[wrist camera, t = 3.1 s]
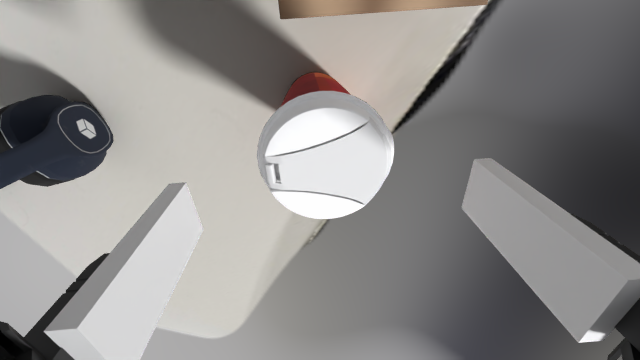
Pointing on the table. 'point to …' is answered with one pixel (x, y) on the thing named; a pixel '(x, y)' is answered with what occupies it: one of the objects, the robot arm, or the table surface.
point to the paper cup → (324, 149)
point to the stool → (362, 6)
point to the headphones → (50, 141)
